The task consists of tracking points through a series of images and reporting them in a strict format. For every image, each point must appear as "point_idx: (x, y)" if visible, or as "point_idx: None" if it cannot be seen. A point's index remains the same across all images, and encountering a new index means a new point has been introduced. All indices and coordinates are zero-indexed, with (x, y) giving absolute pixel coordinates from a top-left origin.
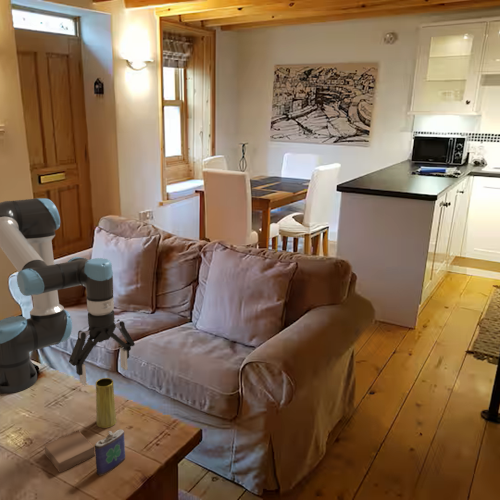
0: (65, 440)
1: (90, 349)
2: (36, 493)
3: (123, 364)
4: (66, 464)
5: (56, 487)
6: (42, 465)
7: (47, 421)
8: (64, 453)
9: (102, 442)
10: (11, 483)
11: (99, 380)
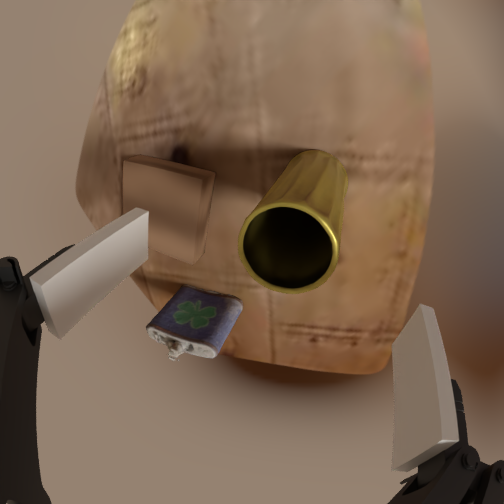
0: (159, 187)
1: (26, 445)
2: None
3: (405, 355)
4: None
5: None
6: None
7: (209, 34)
8: None
9: (156, 341)
10: (83, 179)
11: (292, 202)
